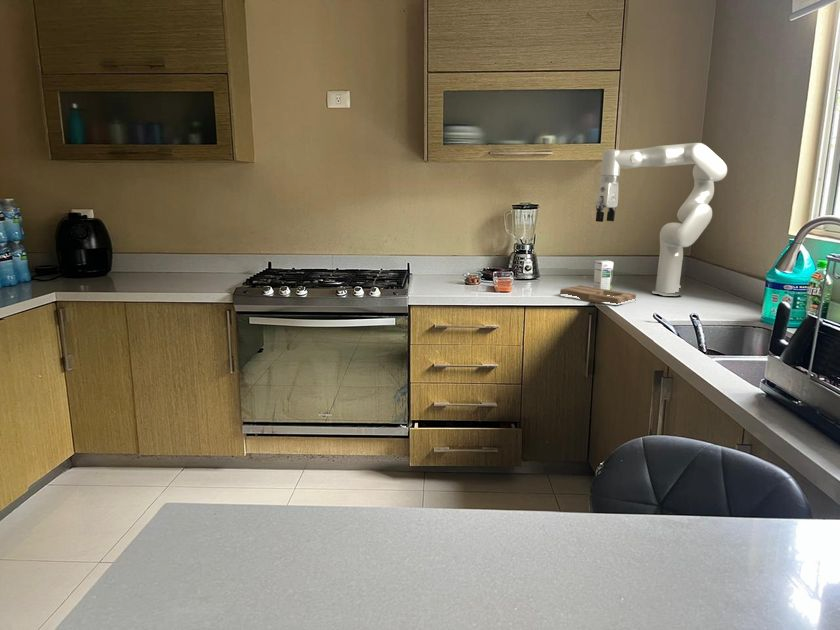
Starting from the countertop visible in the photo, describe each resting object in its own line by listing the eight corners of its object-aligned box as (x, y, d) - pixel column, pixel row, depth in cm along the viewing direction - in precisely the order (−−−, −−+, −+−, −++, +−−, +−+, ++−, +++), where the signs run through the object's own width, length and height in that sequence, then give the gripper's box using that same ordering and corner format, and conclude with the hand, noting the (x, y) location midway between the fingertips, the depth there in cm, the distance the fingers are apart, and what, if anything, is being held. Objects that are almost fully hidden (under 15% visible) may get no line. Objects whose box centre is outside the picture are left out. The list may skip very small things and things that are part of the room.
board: (579, 292, 273) (580, 285, 272) (635, 301, 255) (636, 294, 254) (560, 296, 261) (560, 289, 261) (616, 306, 244) (617, 299, 243)
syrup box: (599, 294, 267) (602, 261, 264) (592, 292, 273) (595, 259, 269) (611, 294, 269) (614, 261, 265) (603, 292, 274) (606, 259, 271)
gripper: (608, 179, 248) (603, 222, 251) (627, 180, 260) (622, 221, 264) (591, 179, 253) (586, 221, 256) (610, 180, 265) (606, 220, 269)
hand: (604, 221), depth 260 cm, fingers open, 9 cm apart
